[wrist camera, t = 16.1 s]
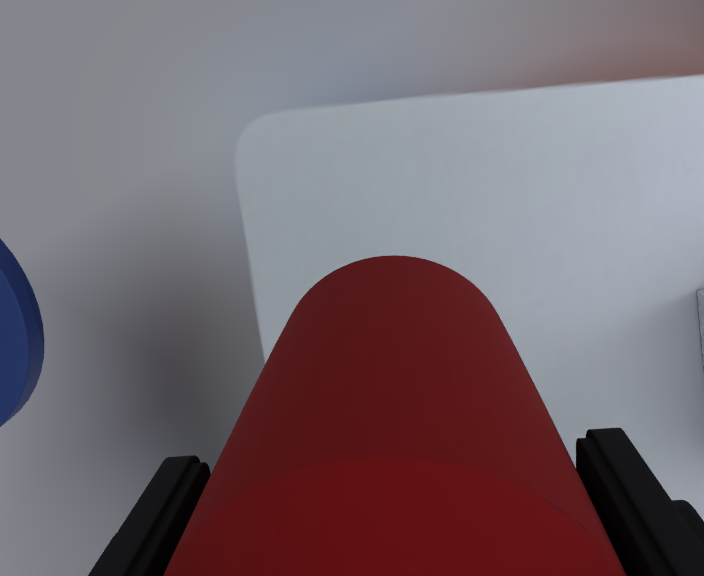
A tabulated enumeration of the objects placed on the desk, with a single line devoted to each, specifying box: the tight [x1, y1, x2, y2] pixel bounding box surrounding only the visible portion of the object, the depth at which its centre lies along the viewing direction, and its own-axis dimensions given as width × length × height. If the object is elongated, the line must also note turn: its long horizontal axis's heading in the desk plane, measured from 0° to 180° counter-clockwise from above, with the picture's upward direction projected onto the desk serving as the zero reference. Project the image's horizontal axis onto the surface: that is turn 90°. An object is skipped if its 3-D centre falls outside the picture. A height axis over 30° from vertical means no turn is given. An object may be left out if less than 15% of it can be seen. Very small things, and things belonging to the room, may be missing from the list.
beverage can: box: [163, 256, 627, 576], centre depth 12 cm, size 7×7×12 cm
